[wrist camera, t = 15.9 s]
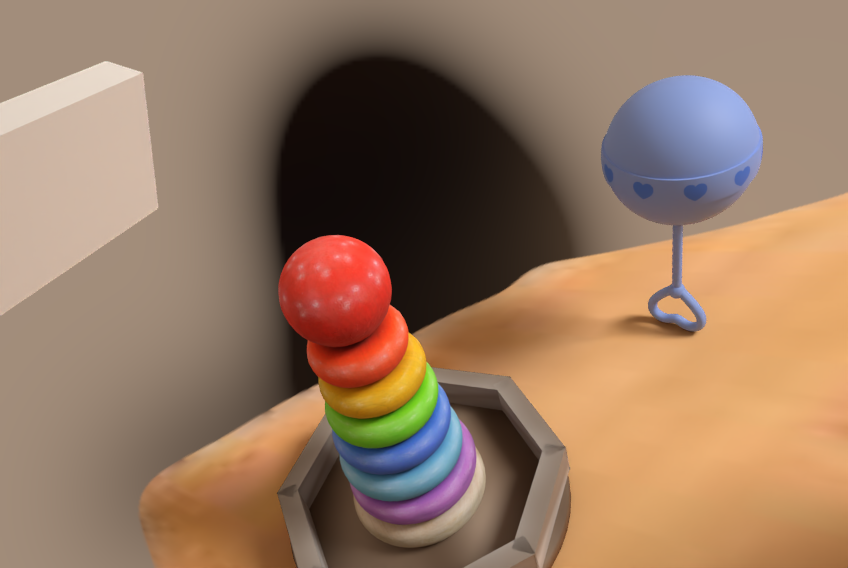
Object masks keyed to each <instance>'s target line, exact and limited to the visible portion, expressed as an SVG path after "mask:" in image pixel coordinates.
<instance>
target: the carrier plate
mask: <svg viewBox="0 0 848 568" xmlns="http://www.w3.org/2000/svg"><path fill="white" fill-rule="evenodd" d="M431 368H432V369H433V371H434V373H435V376H436V378H437V382H438V384H439V385H440V386H441V387H442V388H443V390H444V391H445V393H446V395H447V397H448V400H449V403H450V406H451V407H452V408H453V410H454V411H455V413H456V414H457V416H458V419H459V420H460V421H461V422H462V423H463V424H464V425H465V426H466V427H467V429H468V430H469V432H470V434H471V435H472V438H473V440H474V444H475V447H476V448H477V450H478V451H479V453H480V455H481V458H482V460H483V464H484V467H485V474H486V483H485V490H484V494H483V497H482V500H481V502H480V504H479V506H478V508H477V510H476V512H475V513H474V515H473V516H472V517H471V519H470V520H469V521H468V522H467V523H466V524H465V525H464V526H463V527H462V528H461V529H460V530H458V531H457V532H456V533H454V534H453V535H452V536H450V537H448V538H446V539H444V540H442V541H440V542H437V543H435V544H432V545H428V546H424V547H415V548H406V547H399V546H394V545H390V544H388V543H385V542H383V541H381V540H379V539H378V538H376V537H375V536H374V535H372V534H371V533H370V532H369V531H368V530H367V529H366V528H365V527H364V525H363V524H362V522H361V521H360V519H359V517H358V515H357V512H356V509H355V505H354V496H353V492H352V489H351V486H350V482H349V481H348V479H347V477H346V476H345V474H344V472H343V470H342V467H341V463H340V457H339V453H338V451H337V449H336V447H335V444H334V441H333V437H332V428H331V426H330V425H329V422H328V420H327V417H326V413H325V415H324V417H323V418H322V420H321V422H320V423H319V425H318V427H317V428H316V430H315V432H314V433H313V435H312V437H311V438H310V440H309V442H308V443H307V445H306V447H305V448H304V450H303V451H302V453H301V455H300V456H299V458H298V460H297V461H296V463H295V465H294V466H293V468H292V470H291V471H290V473H289V475H288V476H287V478H286V480H285V481H284V483H283V485H282V486H281V488H280V489H279V491H278V493H277V494H278V497H279V501H280V505H281V508H282V512H283V515H284V519H285V522H286V526H287V530H288V533H289V537H290V540H291V547H292V552H293V557H294V561H295V564H296V566H297V568H551V567H552V565H553V563H554V561H555V559H556V557H557V555H558V553H559V551H560V549H561V547H562V544H563V541H564V538H565V535H566V532H567V528H568V523H569V517H570V508H571V492H570V484H569V477H568V473H569V469H570V467H569V462H568V457H567V452H566V447H565V446H564V445H563V444H562V442H561V441H560V440H559V438H558V437H557V436H556V435H555V433H554V432H553V431H552V430H551V428H550V427H549V426H548V425H547V423H546V422H545V421H544V419H543V418H542V417H541V416H540V414H539V413H538V412H537V411H536V409H535V408H534V407H533V405H532V404H531V403H530V402H529V400H528V399H527V398H526V397H525V395H524V394H523V393H522V391H521V390H520V389H519V388H518V386H517V385H516V384H515V383H514V381H513V380H512V379H511V377H508V376H500V375H491V374H483V373H475V372H466V371H458V370H450V369H442V368H433V367H431Z"/></svg>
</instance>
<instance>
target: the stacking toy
mask: <svg viewBox="0 0 848 568" xmlns="http://www.w3.org/2000/svg"><path fill="white" fill-rule="evenodd" d="M391 289H392V288H391V281H390V277H389V273H388V270H387V268H386V266H385V264H384V262H383V261H382V259H381V257H380V256H379V255H378V254H377V253H376V252H375V251H374V250H373V249H372V248H371V247H370V246H368V245H367V244H365V243H364V242H362V241H360V240H358V239H355V238H352V237H347V236H341V235H330V236H323V237H319V238H316V239H314V240H311V241H310V242H308V243H306V244H304V245H303V246H301V247H300V248H299V249H298V250H296V251H295V252H294V253H293V254H292V256H291V257H290V258H289V260H288V261H287V263H286V264H285V266H284V268H283V271H282V273H281V277H280V281H279V300H280V305H281V309H282V311H283V313H284V315H285V317H286V319H287V321H288V322H289V324H290V325H291V326H292V327H293V328H294V330H295V331H296V332H297V333H299V334H300V335H301V336H302V337H304V338H305V339H307V340H308V344H307V356H308V361H309V364H310V365H311V367H312V369H313V371H314V372H315V373H316V374H317V376H318V377H319V387H320V392H321V394H322V396H323V398H324V400H325V413H326V417H327V420H328V422H329V425H330V426H331V428H332V437H333V441H334V444H335V447H336V449H337V451H338V453H339V457H340V463H341V467H342V470H343V472H344V474H345V476H346V477H347V479H348V481H349V482H350V486H351V489H352V492H353V496H354V505H355V509H356V512H357V515H358V517H359V519H360V521H361V522H362V524H363V525H364V527H365V528H366V529H367V530H368V531H369V532H370V533H371V534H372V535H374V536H375V537H376V538H378V539H379V540H381V541H383V542H385V543H388V544H390V545H394V546H399V547H406V548H415V547H424V546H428V545H432V544H435V543H437V542H440V541H442V540H444V539H446V538H448V537H450V536H452V535H453V534H454V533H456V532H457V531H458V530H460V529H461V528H462V527H463V526H464V525H465V524H466V523H467V522H468V521H469V520H470V519H471V517H472V516H473V515H474V513H475V512H476V510H477V508H478V506H479V504H480V502H481V500H482V497H483V494H484V490H485V483H486V474H485V467H484V464H483V460H482V458H481V455H480V453H479V451H478V450H477V448H476V447H475V444H474V440H473V438H472V435H471V434H470V432H469V430H468V429H467V427H466V426H465V425H464V424H463V423H462V422H461V421H460V420H459V419H458V416H457V414H456V413H455V411H454V410H453V408H452V407H451V406H450V403H449V400H448V397H447V395H446V393H445V391H444V390H443V388H442V387H441V386H440V385H439V384H438V382H437V378H436V376H435V373H434V371H433V369H432V368H431V366H430V365H429V364H428V363H427V362H426V356H425V352H424V350H423V348H422V346H421V344H420V343H419V341H418V340H417V339H416V338H415V337H414V336H412V335H411V334H410V333H408V328H407V325H406V322H405V320H404V318H403V317H402V315H401V314H400V312H399V311H397V310H396V309H395V308H394V307H392V306H391V305H390V301H391Z"/></svg>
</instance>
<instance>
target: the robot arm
mask: <svg viewBox="0 0 848 568" xmlns="http://www.w3.org/2000/svg"><path fill="white" fill-rule="evenodd" d="M156 209H158V201H157V192H156V183H155V174H154V166H153V158H152V148H151V140H150V132H149V122H148V113H147V106H146V96H145V88H144V79H143V73H142V72H139V71H136V70H133V69H130V68H126V67H123V66H120V65H117V64H114V63H110V62H108V61H105V62H102V63H100V64H97V65H95V66H93V67H90V68H87V69H85V70H82V71H80V72H77V73H75V74H72V75H70V76H67V77H65V78H62V79H60V80H58V81H55V82H52V83H50V84H47V85H45V86H42V87H40V88H37V89H35V90H32V91H30V92H27V93H25V94H22V95H20V96H17V97H15V98H12V99H10V100H7V101H5V102H2V103H0V316H1V315H2V314H4V313H5V312H7V311H8V310H9V309H11V308H12V307H14V306H15V305H17V304H18V303H20V302H21V301H23V300H24V299H26V298H27V297H29V296H30V295H32V294H33V293H34V292H36V291H37V290H39V289H40V288H41V287H43V286H45V285H46V284H48V283H49V282H51V281H52V280H54V279H55V278H56V277H58V276H59V275H61V274H62V273H64V272H65V271H67V270H68V269H70V268H71V267H73V266H74V265H76V264H77V263H79V262H80V261H81V260H82V259H84V258H86V257H87V256H89V255H90V254H92V253H93V252H95V251H96V250H97V249H99V248H101V247H102V246H103V245H105V244H106V243H108V242H109V241H111V240H112V239H114V238H115V237H117V236H118V235H120V234H121V233H123V232H124V231H126V230H127V229H128V228H130V227H131V226H133V225H134V224H136V223H137V222H139V221H140V220H142V219H143V218H145V217H146V216H148V215H149V214H150V213H152V212H153V211H155V210H156Z"/></svg>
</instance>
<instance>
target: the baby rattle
mask: <svg viewBox="0 0 848 568" xmlns="http://www.w3.org/2000/svg"><path fill="white" fill-rule="evenodd" d="M762 152H763V139H762V133H761V130H760V128H759V126H758V125H757V123H756V120H755V118H754V115H753V113H752V112H751V110H750V108H749V107H748V105H747V104H746V103H745V102H744V100H743V99H742V98H741V97H740V96H739V95H738V94H736V93H735V92H734V91H733V90H732V89H730V88H729V87H727V86H725V85H724V84H722V83H720V82H717V81H715V80H712V79H709V78H705V77H699V76H688V75H686V76H674V77H669V78H665V79H662V80H659V81H656V82H653V83H651V84H649V85H647V86H645V87H644V88H642V89H641V90H639V91H638V92H636V93H635V94H634V95H632V96H631V97H630V98H629V99H628V100H627V101H626V102H625V103H624V104H623V105H622V106H621V108H620V109H619V110H618V112H617V113H616V115H615V116H614V118H613V120H612V122H611V124H610V126H609V129H608V131H607V134H606V135H605V137H604V139H603V142H602V148H601V162H602V169H603V174H604V177H605V179H606V181H607V183H608V184H609V185H610V186H611V188H612V190H613V192H614V193H615V195H616V196H617V197H618V199H619V200H620V201H621V202H622V203H623V204H624V205H625V206H626V207H627V208H629V209H630V210H631V211H632V212H634V213H635V214H637V215H639V216H641V217H643V218H645V219H647V220H649V221H652V222H656V223H660V224H666V225H673V249H672V251H673V255H672V259H673V261H672V266H673V268H672V273H673V274H672V284H671V285H670V286H668V287H665V288H663V289H661V290H659V291H658V292H656V293H655V294H654V295H652V297H651V298H650V299H649V302H648V309H649V311H650V313H651V314H652V316H653V317H655V318H656V319H657V320H659V321H661V322H665V323H675V324H677V325H678V326H680V327H681V328H683V329H685V330H688V331H699V330H701V329H702V328H703V327H704V326H705V324H706V315H705V313H704V311H703V309H702V308H701V306H700V305H699V304H698V302H697V301H696V300H695V299H694V298H693V297H692V295H691V294H690V293H689V292H688V291H687V290H686V289H685V287H684V285H683V284H682V244H683V242H682V238H683V233H682V232H683V225H687V224H694V223H698V222H701V221H704V220H707V219H710V218H712V217H714V216H716V215H718V214H719V213H721V212H723V211H724V210H726V209H727V208H728V207H730V206H731V205H732V204H733V203H734V202H735V201H736V200H737V199H738V198H739V197H740V196H741V195H742V194H743V193H744V191H745V190H746V188H747V187H748V185H749V184H750V182H751V181H752V180H753V179H754V178H755V176H756V175H757V173H758V170H759V167H760V164H761V159H762ZM669 295H670V296H671V297H673V298H681V299H682V300H683V301H684V302H685V304H686V305H687V306H688V307H689V308H690V309H691V311H692V312H693V313H694V315H695V317H696V319H697V322H690V321H688V320H686V319H685V318H683V317H682V316H680V315H678V314H666V313H664V312H662V311H661V310H660V309H659V308H658V307H657V302H658V301H660V300H661V299H663V298H665V297H667V296H669Z"/></svg>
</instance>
